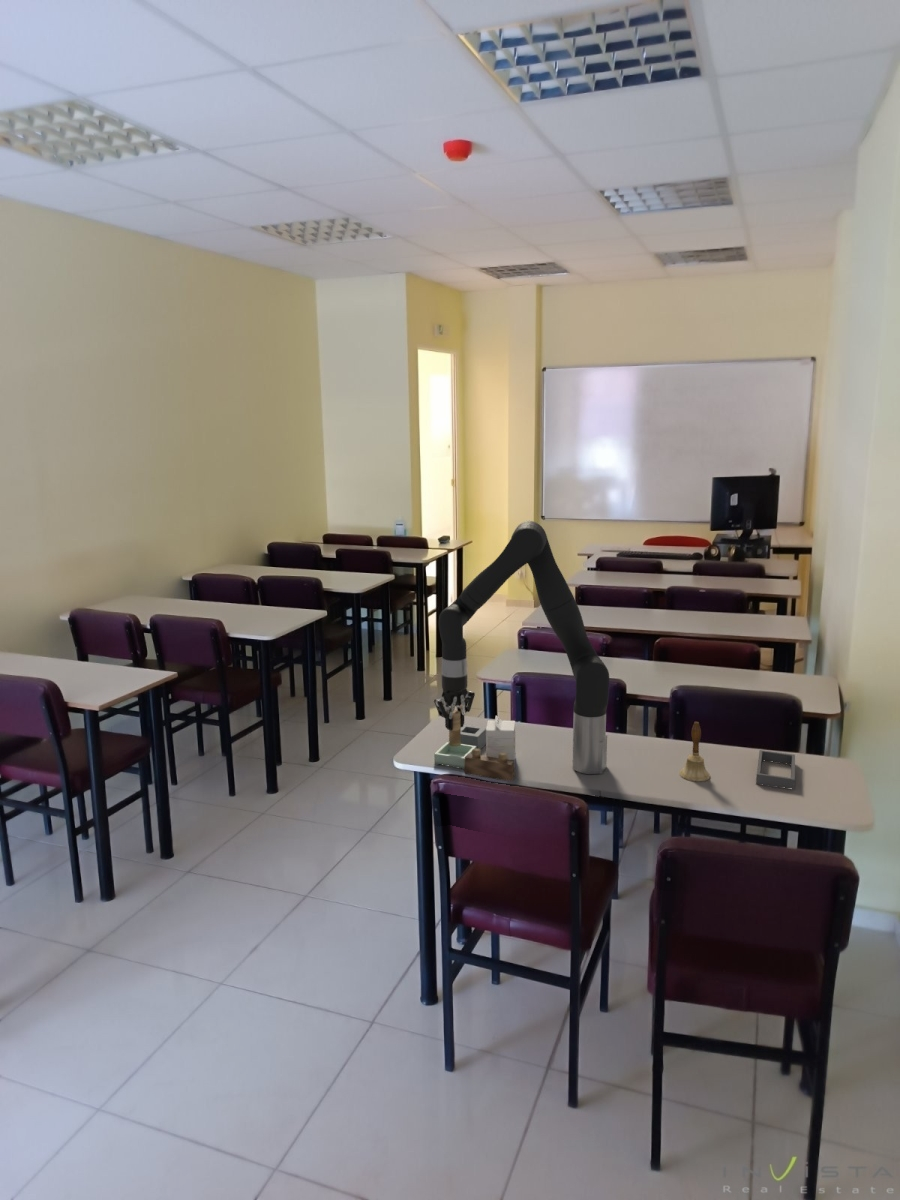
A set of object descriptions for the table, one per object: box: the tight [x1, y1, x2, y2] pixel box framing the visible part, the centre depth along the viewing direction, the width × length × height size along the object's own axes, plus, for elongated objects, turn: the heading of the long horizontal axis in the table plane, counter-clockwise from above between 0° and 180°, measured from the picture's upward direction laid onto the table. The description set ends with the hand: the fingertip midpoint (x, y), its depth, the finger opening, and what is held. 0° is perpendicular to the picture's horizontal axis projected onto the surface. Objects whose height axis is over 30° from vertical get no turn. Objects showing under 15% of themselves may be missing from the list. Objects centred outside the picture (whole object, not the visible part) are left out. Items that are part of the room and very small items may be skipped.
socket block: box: [461, 723, 487, 750], centre depth 248 cm, size 8×8×5 cm
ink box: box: [485, 715, 516, 762], centre depth 235 cm, size 9×8×13 cm
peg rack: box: [464, 749, 516, 782], centre depth 227 cm, size 14×3×7 cm, turn 67°
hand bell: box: [679, 721, 711, 782], centre depth 224 cm, size 8×8×16 cm
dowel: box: [448, 709, 461, 746], centre depth 235 cm, size 3×3×10 cm
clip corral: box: [755, 749, 796, 790], centre depth 225 cm, size 10×18×3 cm, turn 157°
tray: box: [433, 741, 477, 770], centre depth 237 cm, size 10×10×3 cm
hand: (455, 727), depth 235 cm, fingers closed on dowel, 3 cm apart
